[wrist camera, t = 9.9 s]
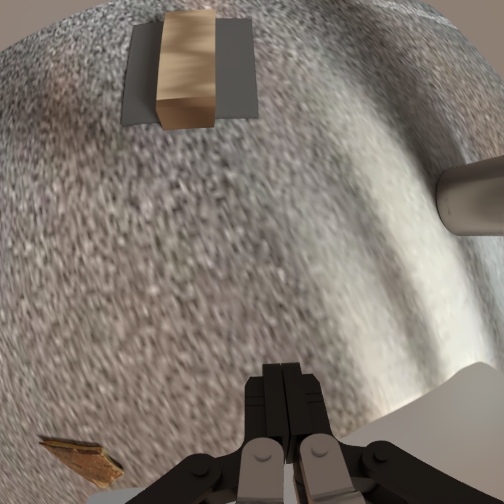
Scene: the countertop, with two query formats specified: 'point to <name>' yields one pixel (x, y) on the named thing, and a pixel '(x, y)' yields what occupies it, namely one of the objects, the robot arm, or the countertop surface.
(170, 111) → the maple block
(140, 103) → the mat
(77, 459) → the shard
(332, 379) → the countertop surface
